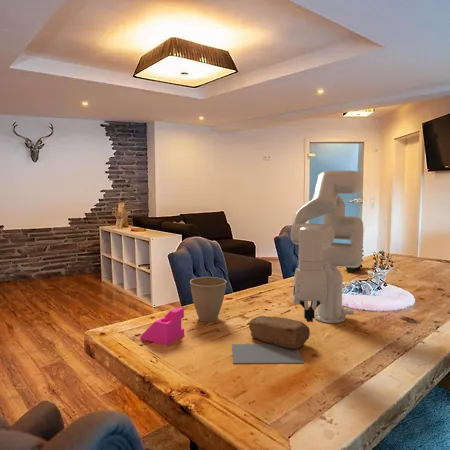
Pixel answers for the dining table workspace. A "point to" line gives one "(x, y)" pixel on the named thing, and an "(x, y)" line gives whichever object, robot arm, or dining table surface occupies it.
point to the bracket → (166, 328)
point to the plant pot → (208, 297)
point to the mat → (264, 354)
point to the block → (279, 331)
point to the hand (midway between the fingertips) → (309, 320)
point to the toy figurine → (354, 268)
